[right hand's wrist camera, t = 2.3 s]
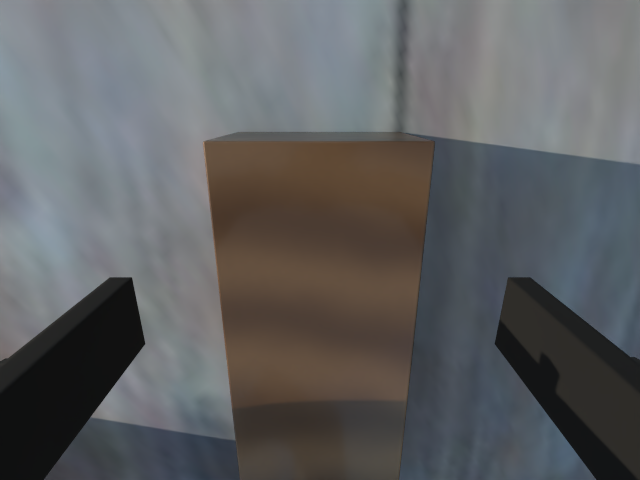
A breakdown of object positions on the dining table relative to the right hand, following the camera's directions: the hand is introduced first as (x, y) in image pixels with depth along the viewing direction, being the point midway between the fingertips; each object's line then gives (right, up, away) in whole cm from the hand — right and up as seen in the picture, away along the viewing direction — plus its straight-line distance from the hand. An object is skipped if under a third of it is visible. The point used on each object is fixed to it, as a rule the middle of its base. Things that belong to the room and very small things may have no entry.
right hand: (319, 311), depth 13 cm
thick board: (0, -16, +18) cm, 24 cm away
